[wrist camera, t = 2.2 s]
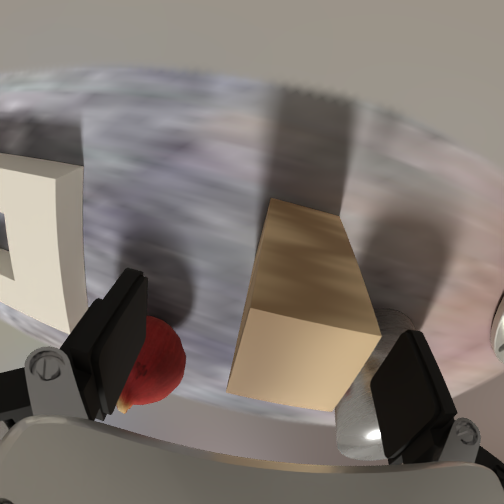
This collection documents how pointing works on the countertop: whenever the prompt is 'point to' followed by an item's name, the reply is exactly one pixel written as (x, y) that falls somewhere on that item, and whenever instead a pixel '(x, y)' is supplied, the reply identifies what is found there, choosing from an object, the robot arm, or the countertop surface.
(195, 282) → the countertop surface
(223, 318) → the countertop surface
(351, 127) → the countertop surface
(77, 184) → the socket block
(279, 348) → the square peg
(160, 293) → the countertop surface
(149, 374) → the onion
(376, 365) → the round peg
